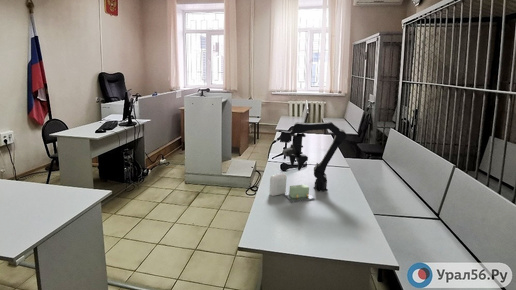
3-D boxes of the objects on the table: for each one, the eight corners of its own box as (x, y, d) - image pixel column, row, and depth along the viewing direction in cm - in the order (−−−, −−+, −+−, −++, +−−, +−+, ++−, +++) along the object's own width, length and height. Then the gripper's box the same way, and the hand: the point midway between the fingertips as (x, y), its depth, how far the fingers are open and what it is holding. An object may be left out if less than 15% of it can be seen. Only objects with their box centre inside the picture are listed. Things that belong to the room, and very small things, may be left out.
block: (304, 193, 191) (305, 184, 190) (308, 196, 187) (309, 187, 186) (289, 195, 188) (289, 185, 187) (292, 198, 184) (293, 188, 182)
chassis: (305, 192, 195) (305, 187, 194) (314, 199, 185) (314, 193, 184) (283, 194, 190) (283, 189, 189) (291, 202, 180) (292, 196, 179)
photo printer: (282, 191, 196) (283, 171, 193) (286, 193, 193) (288, 173, 190) (268, 194, 191) (269, 173, 188) (272, 196, 187) (273, 176, 184)
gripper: (278, 140, 203) (277, 164, 207) (291, 147, 186) (290, 174, 190) (294, 139, 207) (293, 163, 211) (309, 146, 190) (307, 172, 194)
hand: (295, 168), depth 201 cm, fingers open, 9 cm apart
